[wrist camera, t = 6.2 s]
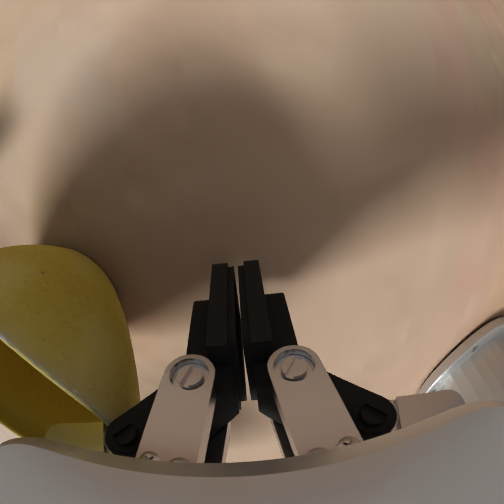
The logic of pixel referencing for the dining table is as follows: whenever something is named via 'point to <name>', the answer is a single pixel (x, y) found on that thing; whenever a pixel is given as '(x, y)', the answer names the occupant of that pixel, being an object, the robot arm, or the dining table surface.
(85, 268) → the flower pot
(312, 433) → the robot arm
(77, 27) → the dining table surface
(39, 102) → the dining table surface
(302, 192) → the dining table surface
